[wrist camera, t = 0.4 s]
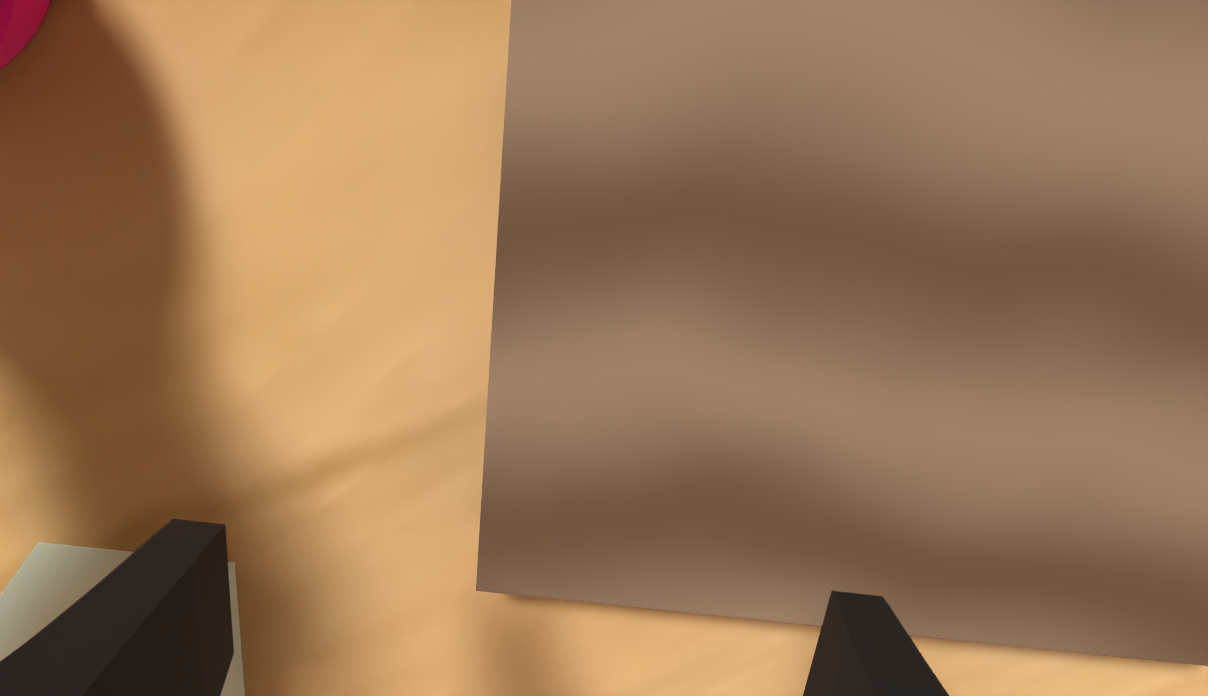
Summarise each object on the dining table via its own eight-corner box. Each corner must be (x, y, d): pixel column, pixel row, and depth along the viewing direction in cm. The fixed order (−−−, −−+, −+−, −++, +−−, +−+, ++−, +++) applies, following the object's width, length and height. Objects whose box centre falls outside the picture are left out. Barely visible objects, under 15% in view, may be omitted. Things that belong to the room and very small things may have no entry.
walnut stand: (1196, 603, 26) (1235, 668, 24) (487, 529, 26) (476, 590, 24) (1564, -169, 18) (1661, -153, 16) (540, -289, 18) (528, -286, 16)
